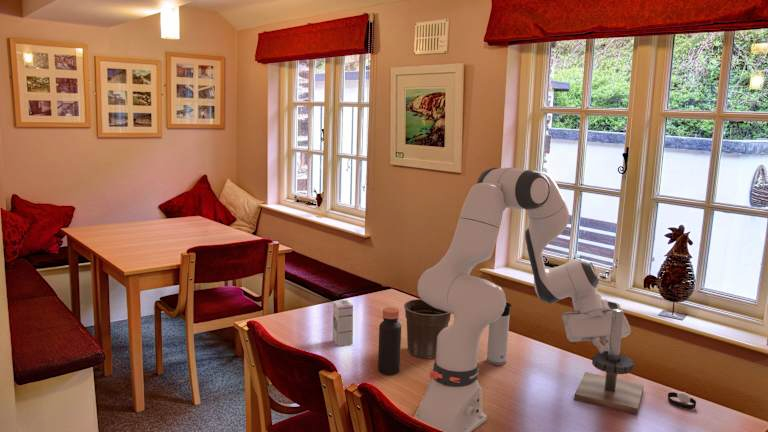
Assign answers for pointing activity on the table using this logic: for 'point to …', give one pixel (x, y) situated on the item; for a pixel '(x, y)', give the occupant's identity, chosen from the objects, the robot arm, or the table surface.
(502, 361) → the travel mug
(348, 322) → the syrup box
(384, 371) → the bottle
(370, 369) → the table surface
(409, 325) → the plant pot
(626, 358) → the grey gear
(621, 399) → the stand
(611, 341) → the metallic rounded rod
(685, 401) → the watch
